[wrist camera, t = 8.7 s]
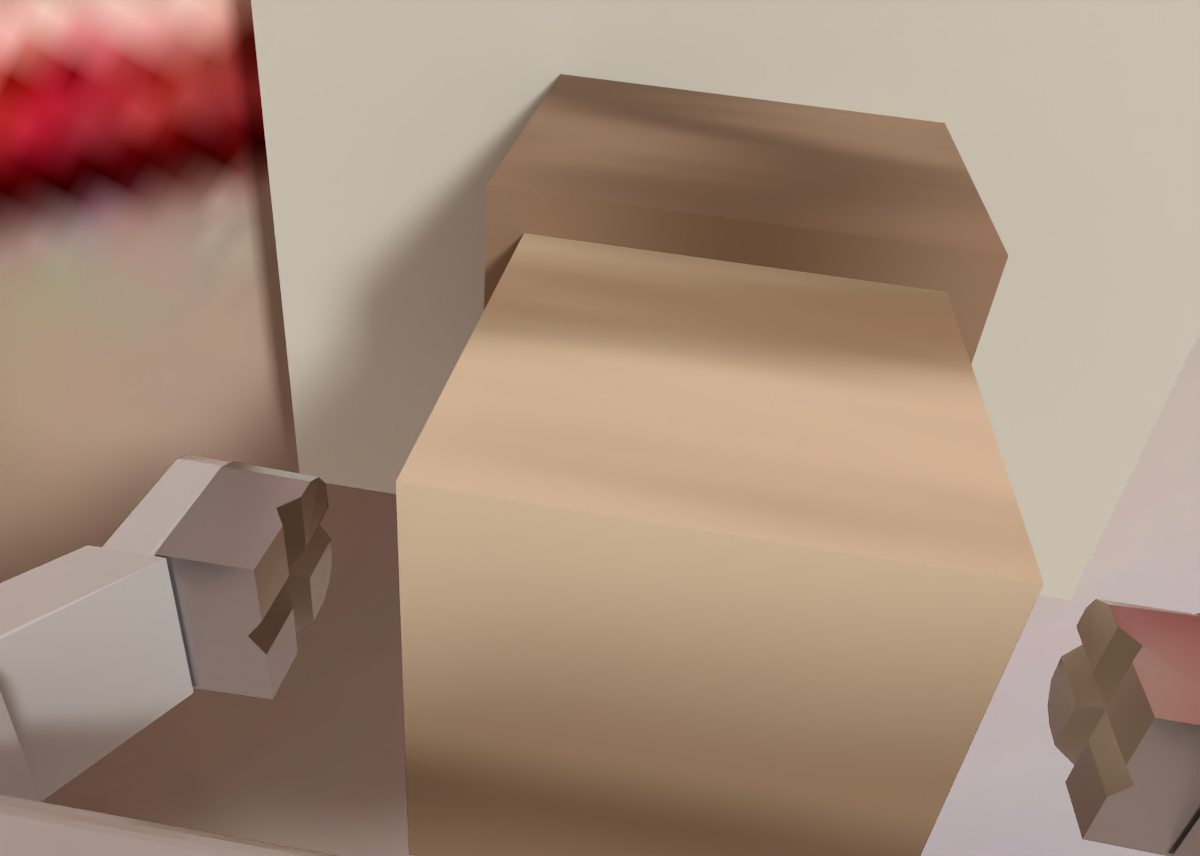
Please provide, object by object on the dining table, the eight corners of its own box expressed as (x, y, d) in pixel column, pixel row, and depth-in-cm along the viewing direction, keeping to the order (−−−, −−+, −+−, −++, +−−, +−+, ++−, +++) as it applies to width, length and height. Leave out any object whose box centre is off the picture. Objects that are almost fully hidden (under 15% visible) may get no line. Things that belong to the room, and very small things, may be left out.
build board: (320, 447, 22) (299, 479, 21) (266, -186, 16) (232, -183, 14) (1056, 561, 21) (1071, 600, 20) (1342, -66, 14) (1384, -53, 13)
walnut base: (540, 393, 19) (477, 567, 15) (560, 73, 16) (486, 185, 12) (855, 441, 19) (879, 632, 15) (944, 122, 15) (1008, 255, 11)
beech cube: (523, 233, 12) (395, 481, 8) (946, 291, 12) (1044, 582, 8) (508, 549, 15) (409, 855, 11) (849, 603, 14) (881, 941, 10)
